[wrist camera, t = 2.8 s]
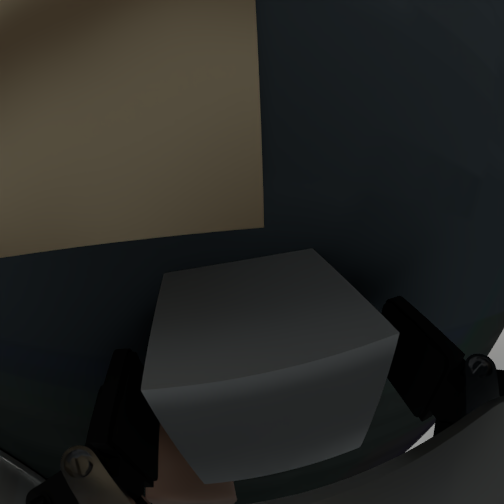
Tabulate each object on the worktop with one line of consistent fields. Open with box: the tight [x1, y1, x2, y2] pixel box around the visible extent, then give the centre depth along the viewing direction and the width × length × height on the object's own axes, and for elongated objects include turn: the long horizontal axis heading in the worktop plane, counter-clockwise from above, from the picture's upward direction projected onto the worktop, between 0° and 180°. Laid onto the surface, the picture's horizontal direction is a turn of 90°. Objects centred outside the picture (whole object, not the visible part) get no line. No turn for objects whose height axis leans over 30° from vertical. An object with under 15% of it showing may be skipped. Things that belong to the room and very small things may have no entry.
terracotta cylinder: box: [146, 423, 237, 504], centre depth 12 cm, size 5×5×5 cm
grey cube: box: [141, 248, 399, 484], centre depth 9 cm, size 6×6×6 cm
